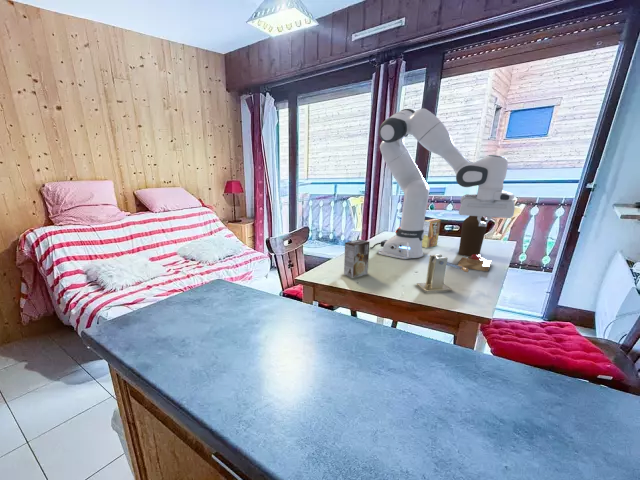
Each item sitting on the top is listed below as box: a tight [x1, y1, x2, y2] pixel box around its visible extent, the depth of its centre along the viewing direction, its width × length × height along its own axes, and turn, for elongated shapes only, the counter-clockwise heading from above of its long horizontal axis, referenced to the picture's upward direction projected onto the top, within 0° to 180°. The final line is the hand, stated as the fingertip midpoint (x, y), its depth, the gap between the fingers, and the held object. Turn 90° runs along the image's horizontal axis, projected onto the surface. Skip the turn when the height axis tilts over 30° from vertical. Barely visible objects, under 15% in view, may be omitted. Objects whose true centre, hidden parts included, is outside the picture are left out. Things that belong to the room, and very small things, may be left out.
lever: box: [432, 256, 470, 273], centre depth 129 cm, size 13×6×2 cm, turn 90°
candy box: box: [422, 218, 442, 249], centre depth 186 cm, size 9×4×15 cm, turn 116°
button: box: [471, 254, 482, 260], centre depth 153 cm, size 4×4×2 cm
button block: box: [457, 256, 492, 272], centre depth 154 cm, size 12×10×4 cm
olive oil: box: [458, 216, 488, 257], centre depth 167 cm, size 11×11×25 cm
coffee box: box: [343, 239, 371, 278], centre depth 149 cm, size 9×6×16 cm
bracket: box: [416, 253, 452, 293], centre depth 130 cm, size 10×8×14 cm
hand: (482, 226), depth 147 cm, fingers closed
